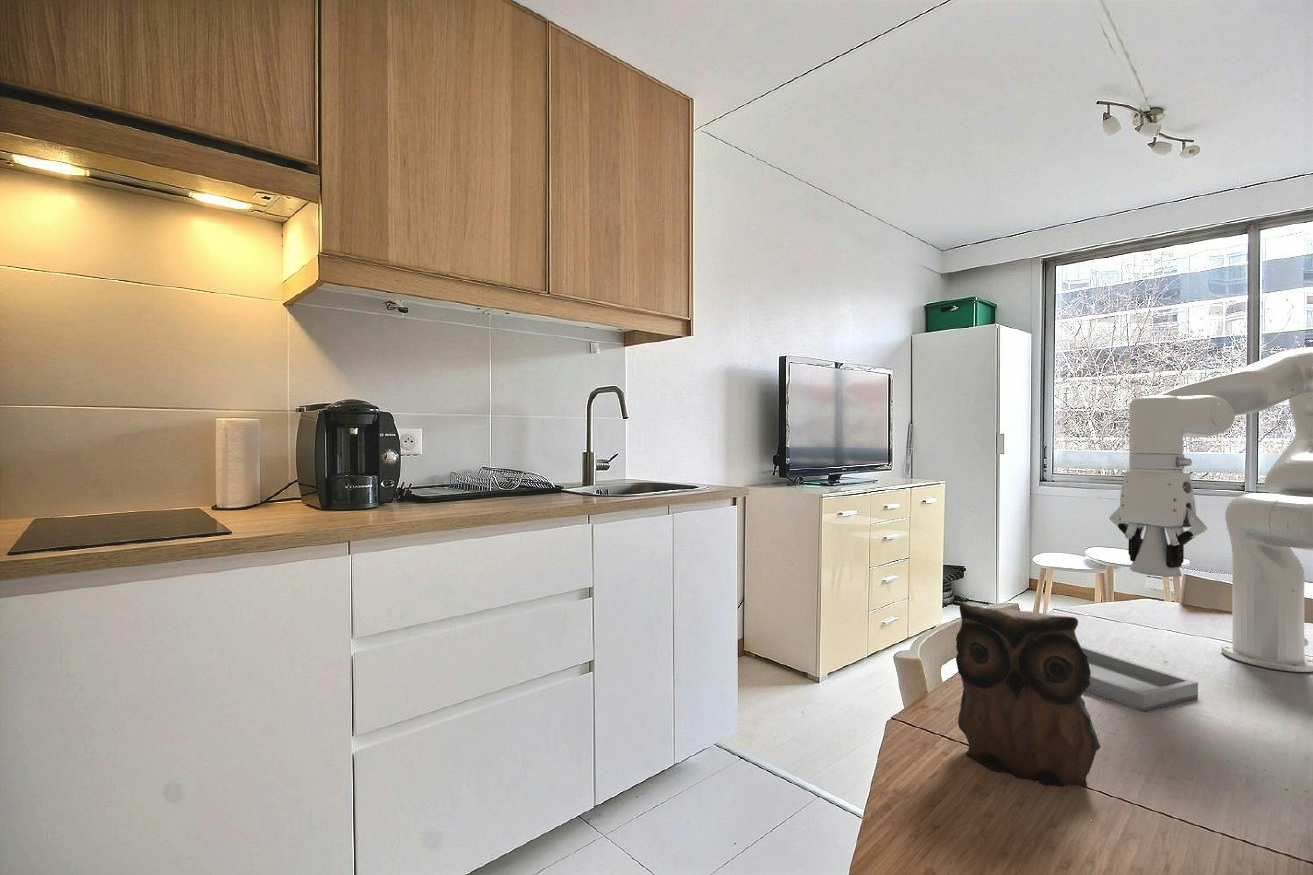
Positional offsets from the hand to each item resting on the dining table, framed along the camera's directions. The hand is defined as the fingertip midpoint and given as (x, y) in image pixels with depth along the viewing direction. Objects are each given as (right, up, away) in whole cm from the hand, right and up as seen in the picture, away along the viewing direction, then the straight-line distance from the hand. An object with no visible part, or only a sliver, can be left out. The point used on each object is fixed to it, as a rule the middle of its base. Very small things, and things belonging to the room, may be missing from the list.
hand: (1155, 562), depth 108 cm
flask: (0, -2, 0) cm, 2 cm away
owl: (-43, -19, -31) cm, 57 cm away
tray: (-14, -19, -6) cm, 24 cm away
